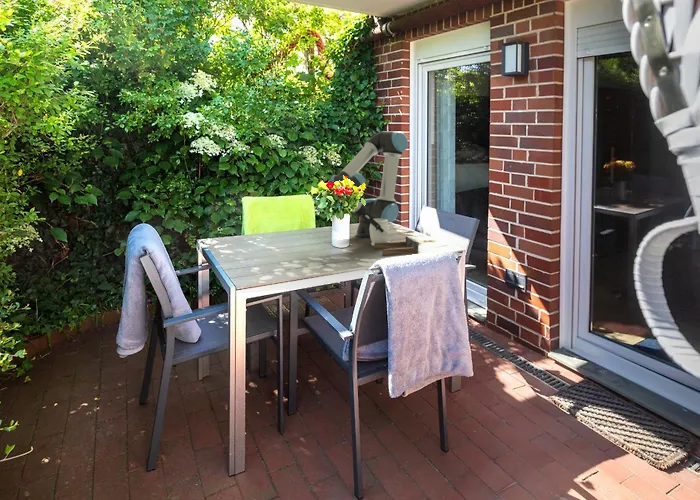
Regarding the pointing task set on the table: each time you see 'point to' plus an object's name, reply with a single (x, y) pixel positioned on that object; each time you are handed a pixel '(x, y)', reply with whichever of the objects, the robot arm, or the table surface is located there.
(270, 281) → the table surface
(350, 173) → the robot arm
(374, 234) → the jar
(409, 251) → the channel
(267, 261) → the table surface
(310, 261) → the table surface
